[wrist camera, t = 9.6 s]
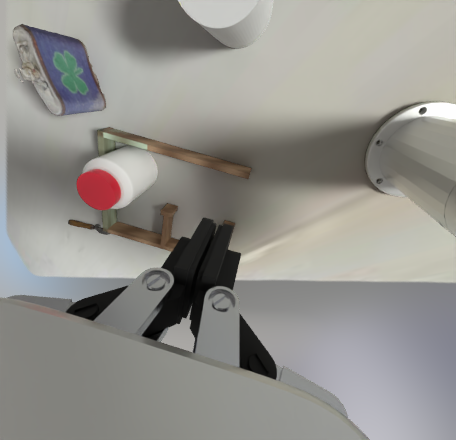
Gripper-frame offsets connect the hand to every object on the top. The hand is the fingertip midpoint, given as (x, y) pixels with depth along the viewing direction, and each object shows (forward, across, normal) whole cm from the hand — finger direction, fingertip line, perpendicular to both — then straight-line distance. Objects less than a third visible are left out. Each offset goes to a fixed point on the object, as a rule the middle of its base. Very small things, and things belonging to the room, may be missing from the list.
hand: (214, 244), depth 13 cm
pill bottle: (+26, +19, +9) cm, 34 cm away
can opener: (+26, +29, +25) cm, 47 cm away
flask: (+26, +26, -3) cm, 37 cm away
